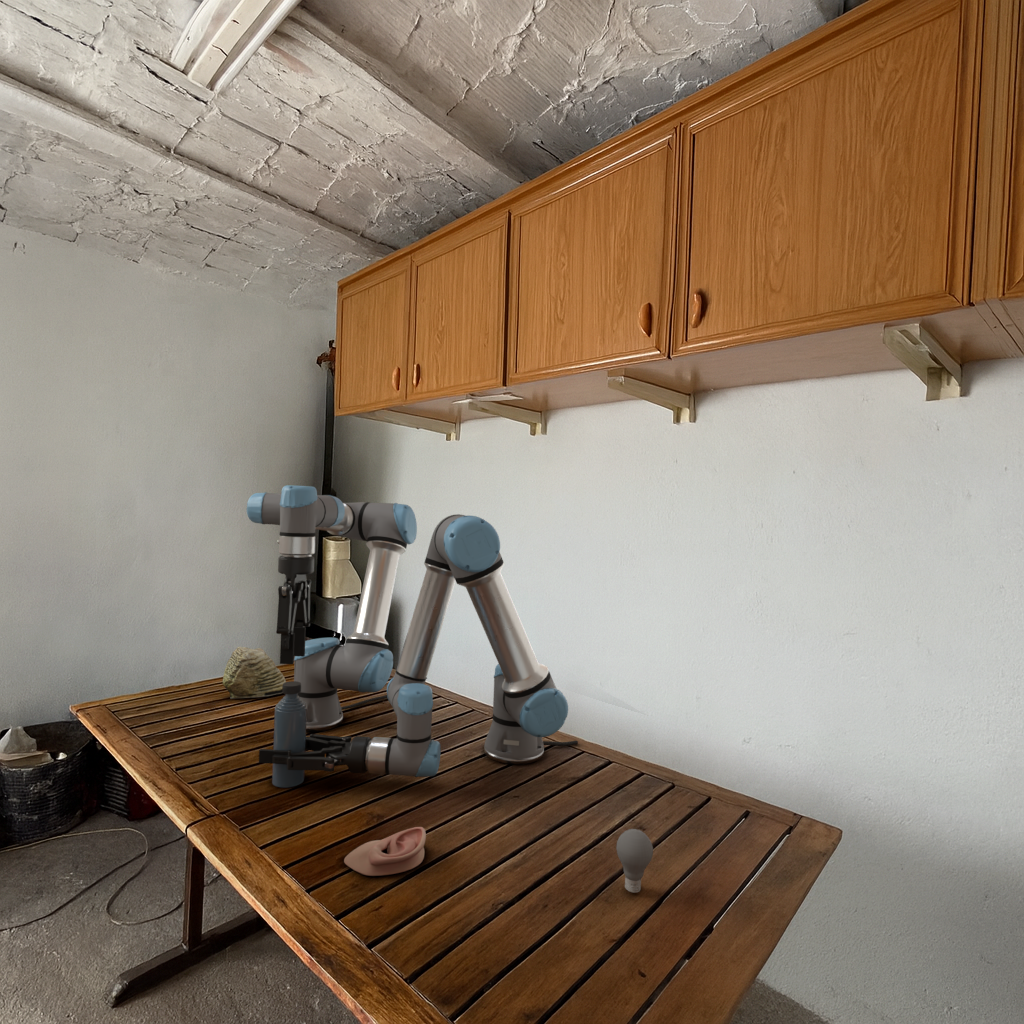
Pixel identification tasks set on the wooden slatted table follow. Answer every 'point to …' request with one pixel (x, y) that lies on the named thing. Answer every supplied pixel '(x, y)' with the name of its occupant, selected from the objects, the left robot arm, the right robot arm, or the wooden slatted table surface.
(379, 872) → the anatomical model
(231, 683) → the fossil
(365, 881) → the wooden slatted table surface
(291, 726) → the bottle
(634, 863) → the light bulb
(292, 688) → the cap
